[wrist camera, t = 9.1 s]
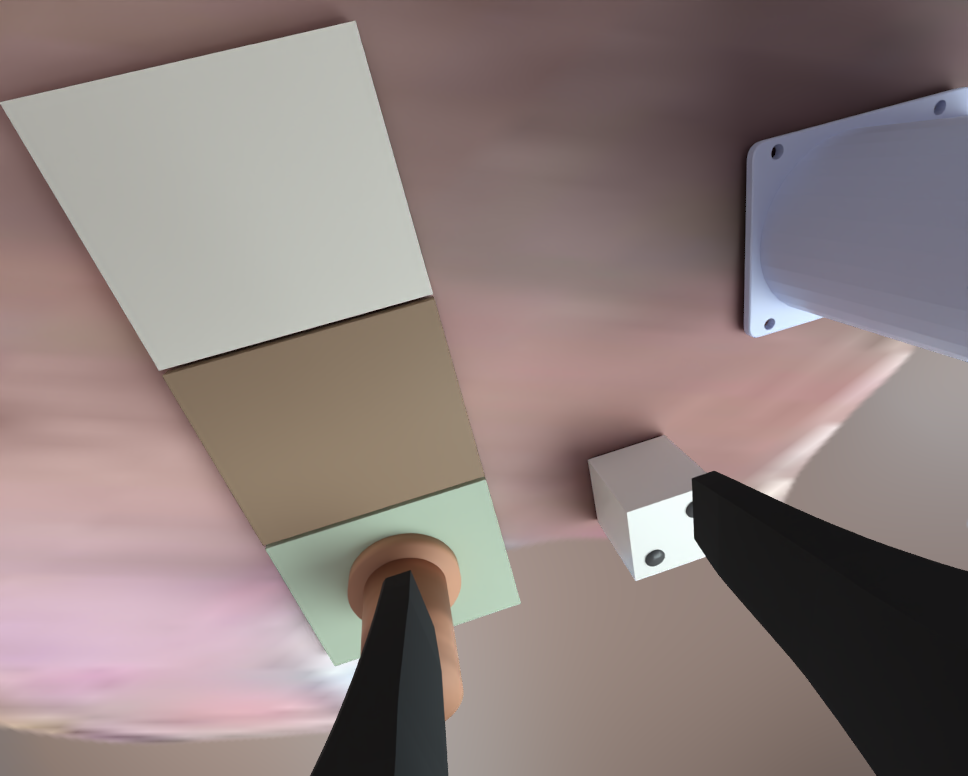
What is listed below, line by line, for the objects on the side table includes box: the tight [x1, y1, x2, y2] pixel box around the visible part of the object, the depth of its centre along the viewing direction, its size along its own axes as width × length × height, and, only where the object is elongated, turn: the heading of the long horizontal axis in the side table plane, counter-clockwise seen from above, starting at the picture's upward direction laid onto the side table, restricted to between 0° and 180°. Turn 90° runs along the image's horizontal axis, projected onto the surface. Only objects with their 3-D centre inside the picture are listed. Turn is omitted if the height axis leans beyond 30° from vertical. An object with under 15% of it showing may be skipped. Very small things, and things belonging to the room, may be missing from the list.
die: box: [588, 435, 706, 581], centre depth 22 cm, size 4×4×4 cm
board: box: [0, 21, 521, 666], centre depth 19 cm, size 10×25×1 cm, turn 13°
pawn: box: [348, 533, 463, 721], centre depth 20 cm, size 5×5×6 cm
